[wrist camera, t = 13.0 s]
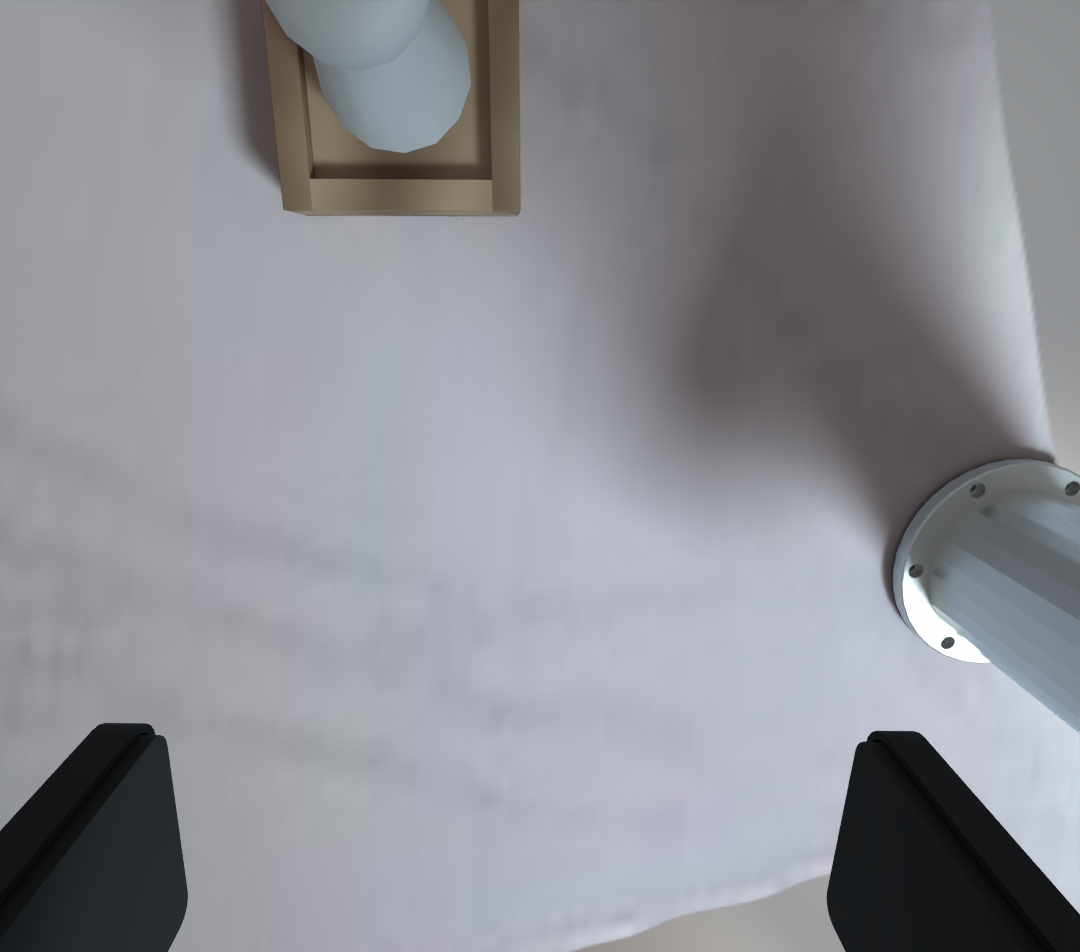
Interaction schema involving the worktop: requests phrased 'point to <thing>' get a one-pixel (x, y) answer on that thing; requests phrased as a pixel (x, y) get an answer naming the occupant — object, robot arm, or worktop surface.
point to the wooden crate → (417, 176)
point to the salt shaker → (384, 65)
